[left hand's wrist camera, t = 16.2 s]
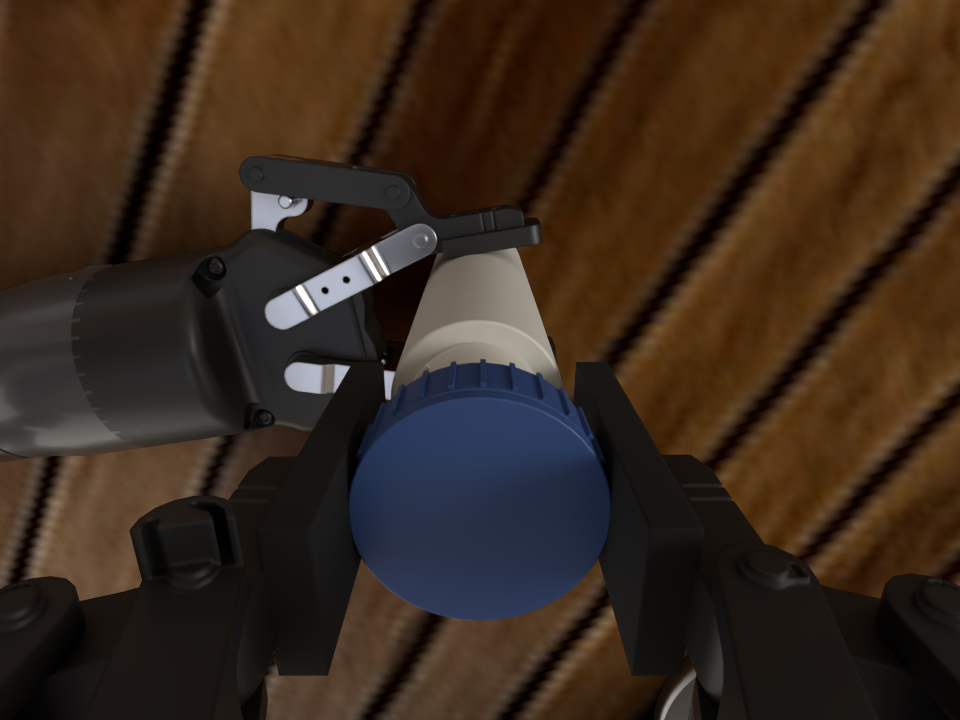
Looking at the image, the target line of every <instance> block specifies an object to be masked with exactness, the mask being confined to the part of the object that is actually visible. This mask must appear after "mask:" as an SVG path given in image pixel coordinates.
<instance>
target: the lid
mask: <svg viewBox="0 0 960 720" xmlns="http://www.w3.org/2000/svg"><path fill="white" fill-rule="evenodd" d="M356 458H358V459H360V460H359V463H358V465H357V468H356V471H355V473H354V476H353V479H352V481H351V486H350V491H349V496H348V502H349V515H350V525H351V533H352V537H353V541H354V543H355V545H356V548H357V550H358V552H359V554H360V556H361V558H362V559H363V561H364V563H365V564H366V566H367V567H368V568H369V570H370V571H371V572H372V573H373V575H374V576H375V577H376V578H377V579H378V580H379V581H380V582H381V583H382V584H383V585H384V586H385V587H386V588H388V589H389V590H390V591H392V592H393V593H394V594H396V595H397V596H398V597H400V598H402V599H403V600H405V601H407V602H409V603H410V604H412V605H414V606H417V607H419V608H421V609H424V610H426V611H429V612H432V613H435V614H438V615H441V616H446V617H451V618H456V619H466V620H494V619H503V618H509V617H513V616H518V615H522V614H525V613H528V612H531V611H534V610H537V609H539V608H541V607H543V606H545V605H547V604H550V603H551V602H553V601H555V600H556V599H558V598H560V597H561V596H563V595H564V594H565V593H567V592H568V591H569V590H571V589H572V588H573V587H575V586H576V585H577V584H578V583H579V582H580V581H581V580H582V579H583V578H584V577H585V576H586V574H587V573H588V572H589V571H590V569H591V568H592V567H593V565H594V564H595V562H596V561H597V559H598V557H599V555H600V554H601V552H602V550H603V547H604V545H605V542H606V540H607V537H608V531H609V521H610V511H611V492H610V487H609V483H608V479H607V476H606V474H605V471H604V469H603V466H602V464H605V463H606V461H605V458H604V456H603V453H602V451H601V448H600V446H599V443H598V441H597V438H596V436H595V433H594V431H593V429H591V430H590V427H589V425H588V422H587V420H586V417H585V414H584V412H583V410H582V408H581V407H578V408H576V407H575V406H574V405H573V403H572V402H571V401H570V400H569V399H568V397H567V394H566V391H565V390H564V389H563V388H562V387H561V388H560V389H557V388H556V387H554V386H553V385H552V384H550V383H549V382H547V381H546V380H544V379H543V376H542V374H541V373H539V372H537V373H536V375H534V374H532V373H530V372H527V371H524V370H522V369H519V368H516V367H515V363H511V362H510V363H509V366H507V365H503V364H495V363H486V359H480V363H465V364H458V365H457V363H456V361H454V362H451V365H450V366H448V367H445V368H441V369H438V370H435V371H433V372H429V370H425V371H423V374H422V376H421V377H420V378H418V379H416V380H414V381H412V382H411V383H409V384H408V385H407V386H405V385H404V384H401V385H400V386H399V388H398V391H397V394H396V395H395V396H394V397H393V398H392V399H391V400H390V401H389V402H388V403H387V404H386V403H384V402H383V403H382V404H381V405H380V408H379V410H378V413H377V415H376V418H375V421H374V423H373V425H371V424H369V425H368V427H367V430H366V432H365V435H364V437H363V440H362V442H361V445H360V447H359V450H358V452H357V455H356Z"/></svg>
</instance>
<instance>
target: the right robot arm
mask: <svg viewBox="0 0 960 720" xmlns="http://www.w3.org/2000/svg"><path fill="white" fill-rule="evenodd" d="M239 174H240V179H241V181H242V183H243V184H244V185H245V187H246V188H248V189H249V190H251V230H249V231H247V232H245V233H244V234H242V235H241V236H240V237H239V238H238V239H237V240H236V241H234V242H233V243H232V244H230V245H227V246H223V247H217V248H211V249H205V250H199V251H193V252H187V253H181V254H175V255H169V256H163V257H157V258H151V259H145V260H139V261H133V262H127V263H121V264H115V265H111V264H101V265H92V266H86V267H84V268H83V269H80V270H79V271H74V272H68V273H62V274H57V275H52V276H47V277H43V278H40V279H36V280H33V281H30V282H27V283H24V284H21V285H18V286H15V287H12V288H8V289H4V290H0V463H1V462H8V461H15V460H22V459H28V458H35V457H43V456H82V455H95V454H104V453H110V452H117V451H123V450H130V449H136V448H143V447H150V446H158V445H164V444H171V443H178V442H184V441H191V440H197V439H204V438H211V437H218V436H225V435H232V434H238V433H245V432H250V431H254V430H258V429H262V428H266V427H270V426H286V427H290V428H294V429H297V430H300V431H308V432H309V431H313V429H314V427H315V426H316V424H317V422H318V420H319V419H320V417H321V415H322V414H323V412H324V410H325V409H326V407H327V405H328V403H329V402H330V400H331V398H332V397H333V395H334V393H335V391H336V390H337V388H338V386H339V385H340V383H341V381H342V379H343V378H344V376H345V374H346V373H347V371H348V369H349V367H350V366H351V364H352V362H383V363H384V379H385V395H386V399H389V400H391V387H392V383H393V378H394V375H395V372H396V369H397V367H398V364H399V361H400V358H401V355H402V352H403V350H404V347H405V344H406V343H405V342H398V341H390V340H385V339H384V334H383V330H382V328H381V326H380V324H379V322H378V320H377V319H376V317H375V315H374V312H373V307H374V292H373V287H372V285H374V284H376V283H378V282H380V281H381V280H383V279H384V278H385V277H387V276H388V275H390V274H392V273H394V272H396V271H398V270H400V269H402V268H404V267H406V266H408V265H410V264H412V263H414V262H416V261H418V260H420V259H422V258H424V257H426V256H428V255H432V254H438V253H443V255H444V259H450V258H456V257H462V256H466V255H474V254H480V253H486V252H493V251H499V250H505V249H511V248H517V247H523V246H529V245H535V244H538V243H541V242H543V239H542V231H541V223H540V221H539V220H538V218H523V211H522V210H521V208H520V207H516V206H512V205H508V204H505V205H499V206H493V207H487V208H482V209H475V210H470V211H464V212H458V213H452V214H438V213H435V212H434V211H432V210H431V209H430V208H429V207H428V206H427V205H426V203H425V201H424V200H423V198H422V196H421V194H420V193H419V191H418V189H417V184H416V181H415V179H414V178H413V177H412V176H411V175H410V174H409V173H407V172H403V171H396V170H388V169H381V168H374V167H366V166H359V165H352V164H344V163H337V162H330V161H322V160H315V159H308V158H300V157H293V156H286V155H277V154H276V155H262V156H253V157H249V158H247V159H245V160H244V161H243V162H242V164H241V166H240V170H239ZM314 200H318V201H325V202H333V203H340V204H348V205H355V206H363V207H370V208H378V209H385V210H386V211H387V212H388V214H389V216H390V217H391V219H392V221H393V222H394V224H395V226H396V227H397V228H396V229H394V230H392V231H390V232H388V233H386V234H384V235H382V236H379V237H377V238H375V239H373V240H371V241H369V242H367V243H365V244H363V245H361V246H359V247H358V248H356V249H354V250H352V251H350V252H348V253H346V254H344V255H342V256H340V255H338V254H336V253H334V252H332V251H330V250H328V249H326V248H324V247H322V246H320V245H317V244H315V243H313V242H311V241H309V240H307V239H305V238H303V237H301V236H299V235H297V234H295V233H292V232H290V231H288V230H286V229H284V228H283V227H284V222H285V220H286V219H287V218H288V217H293V216H298V215H301V214H303V213H305V212H307V211H309V210H310V209H311V208H312V206H313V203H314ZM547 338H548V341H549V344H550V346H551V349H552V352H553V355H554V358H555V361H556V364H557V357H556V349H555V346H554V343H553V340H552V338H551V337H550V336H547ZM384 354H385V355H384Z"/></svg>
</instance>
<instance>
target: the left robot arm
mask: <svg viewBox="0 0 960 720" xmlns="http://www.w3.org/2000/svg"><path fill="white" fill-rule="evenodd" d="M383 402H384V403H386V395H385V379H384V363H383V362H352V364H351V366H350V367H349V369H348V371H347V373H346V374H345V376H344V378H343V379H342V381H341V383H340V385H339V386H338V388H337V390H336V391H335V393H334V395H333V397H332V398H331V400H330V402H329V403H328V405H327V407H326V409H325V410H324V412H323V414H322V415H321V417H320V419H319V420H318V422H317V424H316V426H315V427H314V429H313V431H312V432H311V434H310V436H309V438H308V439H307V441H306V443H305V444H304V446H303V448H302V450H301V451H300V453H299V455H298V456H297V457H268V458H267V459H265V460H264V461H262V462H261V463H259V464H258V465H256V466H255V467H254V468H252V469H251V470H249V471H248V473H247V474H246V476H245V477H244V479H243V480H242V481H241V483H240V484H239V486H238V490H235V491H234V493H233V494H232V495H231V497H230V498H229V500H227V499H224V498H220V497H216V496H192V497H187V498H183V499H178V500H174V501H171V502H169V503H166V504H164V505H162V506H159V507H157V508H155V509H153V510H152V511H150V512H149V513H147V514H145V515H144V516H142V517H141V518H139V520H138V521H137V522H136V523H135V524H134V526H133V527H132V528H131V529H130V530H129V531H130V534H131V538H132V542H133V546H134V550H135V554H136V558H137V562H138V566H139V570H140V574H141V578H142V582H141V584H140V587H139V588H135V589H132V590H128V591H125V592H120V593H116V594H111V595H106V596H102V597H97V598H93V599H88V600H84V601H79V598H78V594H77V591H76V588H75V586H74V585H73V584H72V583H71V582H70V581H68V580H67V579H65V578H59V577H52V576H48V577H40V578H32V579H28V580H24V581H20V582H18V583H14V584H11V585H8V586H6V587H4V588H2V589H0V720H266V712H267V703H268V697H267V690H266V683H265V678H264V674H265V672H266V669H267V667H268V664H269V662H270V660H271V657H272V655H273V652H274V650H275V655H276V661H277V667H278V673H279V676H328V673H329V669H330V666H331V662H332V659H333V655H334V652H335V648H336V645H337V641H338V638H339V634H340V631H341V627H342V624H343V620H344V617H345V613H346V610H347V606H348V603H349V599H350V596H351V592H352V589H353V585H354V582H355V578H356V575H357V571H358V568H359V564H360V561H361V556H360V554H359V552H358V550H357V548H356V545H355V543H354V541H353V537H352V533H351V525H350V515H349V502H348V496H349V491H350V486H351V481H352V479H353V476H354V473H355V471H356V468H357V465H358V463H359V460H360V459H358V458H356V455H357V452H358V450H359V447H360V445H361V442H362V440H363V437H364V435H365V432H366V430H367V427H368V425H369V424H371V425H373V423H374V421H375V418H376V415H377V413H378V410H379V408H380V405H381V404H382V403H383ZM574 406H575V407H576V408H578V407H581V408H582V410H583V412H584V414H585V417H586V420H587V422H588V425H589V427H590V430H591V429H593V431H594V433H595V436H596V438H597V441H598V443H599V446H600V448H601V451H602V453H603V456H604V458H605V461H606V463H605V464H602V466H603V469H604V471H605V474H606V476H607V479H608V483H609V487H610V492H611V511H610V521H609V531H608V537H607V540H606V542H605V545H604V547H603V550H602V552H601V554H600V555H599V557H598V559H599V562H600V566H601V569H602V573H603V576H604V580H605V583H606V587H607V590H608V594H609V597H610V601H611V604H612V608H613V611H614V615H615V618H616V622H617V625H618V629H619V632H620V636H621V639H622V643H623V646H624V650H625V653H626V657H627V660H628V664H629V667H630V671H631V674H632V676H670V677H669V678H668V679H667V681H666V682H665V684H664V686H663V687H662V689H661V692H660V694H659V696H658V699H657V702H656V706H655V713H654V720H960V586H958V585H956V584H954V583H951V582H949V581H946V580H941V579H939V578H935V577H932V576H925V575H917V574H904V575H898V576H894V577H892V578H891V579H890V580H889V581H888V582H887V583H885V586H884V589H883V593H882V596H881V599H879V598H874V597H870V596H865V595H860V594H856V593H851V592H847V591H842V590H837V589H834V588H830V587H827V586H823V585H820V583H819V581H818V579H817V578H816V576H815V575H814V573H813V572H812V571H811V569H810V568H809V567H808V566H807V565H806V564H804V563H803V562H802V561H800V560H799V559H798V558H797V557H795V556H794V555H792V554H790V553H788V552H785V551H783V550H781V549H779V548H777V547H774V546H770V545H766V544H764V543H763V541H762V540H761V538H760V537H759V536H758V534H757V533H756V531H755V530H754V529H753V527H752V526H751V524H750V523H749V522H748V520H747V519H746V517H745V516H744V515H743V513H742V512H741V510H740V509H739V508H738V506H737V505H736V503H735V502H734V501H732V498H731V496H730V495H729V494H728V492H727V491H726V489H725V488H722V484H721V482H720V481H719V480H718V478H717V477H716V475H715V474H714V472H713V471H712V470H711V468H709V467H708V466H706V465H705V464H703V463H702V462H700V461H699V460H697V459H696V458H694V457H693V456H691V455H661V454H660V452H659V450H658V449H657V447H656V445H655V443H654V442H653V440H652V438H651V437H650V435H649V433H648V431H647V430H646V428H645V426H644V425H643V423H642V421H641V419H640V418H639V416H638V414H637V413H636V411H635V409H634V407H633V406H632V404H631V402H630V401H629V399H628V397H627V395H626V394H625V392H624V390H623V389H622V387H621V385H620V384H619V382H618V380H617V378H616V377H615V375H614V373H613V372H612V370H611V368H610V366H609V365H608V363H607V362H576V373H575V389H574ZM685 648H686V650H687V653H688V655H689V657H688V658H687V659H686V660H685V661H684V662H683V658H684V652H685Z"/></svg>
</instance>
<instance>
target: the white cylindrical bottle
mask: <svg viewBox="0 0 960 720" xmlns="http://www.w3.org/2000/svg"><path fill="white" fill-rule="evenodd" d="M480 359H486V363H495V364H503V365H507V366H509V363H510V362H511V363H515V367H516V368H519V369H522V370H524V371H527V372H530V373H532V374H534V375H536V373H537V372H539V373H541V374H542V376H543V379H544V380H546V381H547V382H549V383H550V384H552V385H553V386H554V387H556V388H557V389H560V388H561V387H562V388H563V383H562V379H561V376H560V373H559V370H558V367H557V364H556V361H555V358H554V355H553V352H552V349H551V346H550V344H549V341H548V338H547V335H546V332H545V329H544V326H543V323H542V320H541V318H540V315H539V312H538V309H537V306H536V303H535V300H534V297H533V294H532V292H531V289H530V286H529V283H528V280H527V277H526V274H525V271H524V268H523V265H522V263H521V260H520V257H519V254H518V252H517V249H516V248H511V249H505V250H499V251H493V252H486V253H480V254H474V255H466V256H462V257H456V258H450V259H444V255H443V253H438V254H437V256H436V259H435V262H434V265H433V267H432V270H431V273H430V276H429V279H428V282H427V284H426V287H425V290H424V293H423V296H422V299H421V301H420V304H419V307H418V310H417V313H416V316H415V318H414V321H413V324H412V327H411V330H410V333H409V335H408V338H407V341H406V344H405V347H404V350H403V352H402V355H401V358H400V361H399V364H398V367H397V369H396V372H395V375H394V378H393V383H392V387H391V399H392V398H393V397H394V396H395V395H396V394H397V391H398V388H399V386H400V385H401V384H404V385H405V386H407V385H408V384H409V383H411V382H412V381H414V380H416V379H418V378H420V377H421V376H422V374H423V371H425V370H429V372H433V371H435V370H438V369H441V368H445V367H448V366H450V365H451V362H454V361H456V363H457V365H458V364H465V363H480Z"/></svg>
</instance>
